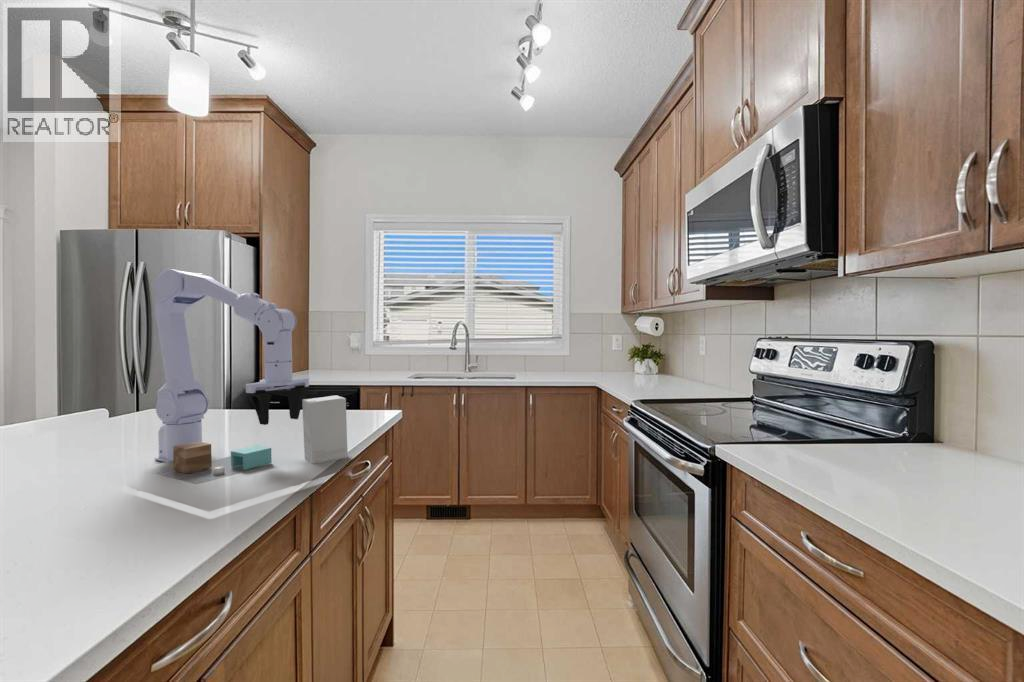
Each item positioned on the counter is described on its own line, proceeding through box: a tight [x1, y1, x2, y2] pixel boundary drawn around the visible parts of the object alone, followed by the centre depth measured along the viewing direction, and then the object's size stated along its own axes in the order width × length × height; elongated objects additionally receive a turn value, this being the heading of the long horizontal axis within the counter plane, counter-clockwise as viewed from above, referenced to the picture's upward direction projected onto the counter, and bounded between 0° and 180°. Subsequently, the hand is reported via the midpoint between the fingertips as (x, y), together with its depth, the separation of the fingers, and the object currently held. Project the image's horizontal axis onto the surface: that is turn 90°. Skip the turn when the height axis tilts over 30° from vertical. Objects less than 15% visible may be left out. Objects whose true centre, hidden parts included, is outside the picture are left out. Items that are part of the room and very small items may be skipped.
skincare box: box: [301, 395, 349, 465], centre depth 114 cm, size 8×6×15 cm
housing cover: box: [230, 445, 273, 470], centre depth 108 cm, size 5×6×3 cm
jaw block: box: [172, 441, 213, 473], centre depth 105 cm, size 5×5×5 cm
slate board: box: [156, 455, 274, 485], centre depth 106 cm, size 15×16×4 cm
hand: (279, 421), depth 114 cm, fingers open, 7 cm apart
